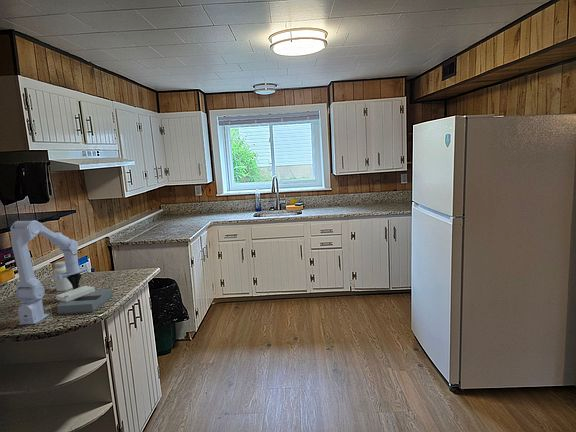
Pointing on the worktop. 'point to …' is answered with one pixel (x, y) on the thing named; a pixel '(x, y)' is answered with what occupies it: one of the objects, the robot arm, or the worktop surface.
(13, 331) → the worktop surface
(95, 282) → the worktop surface
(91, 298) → the gray storage bin
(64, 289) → the pill bottle
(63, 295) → the cover
